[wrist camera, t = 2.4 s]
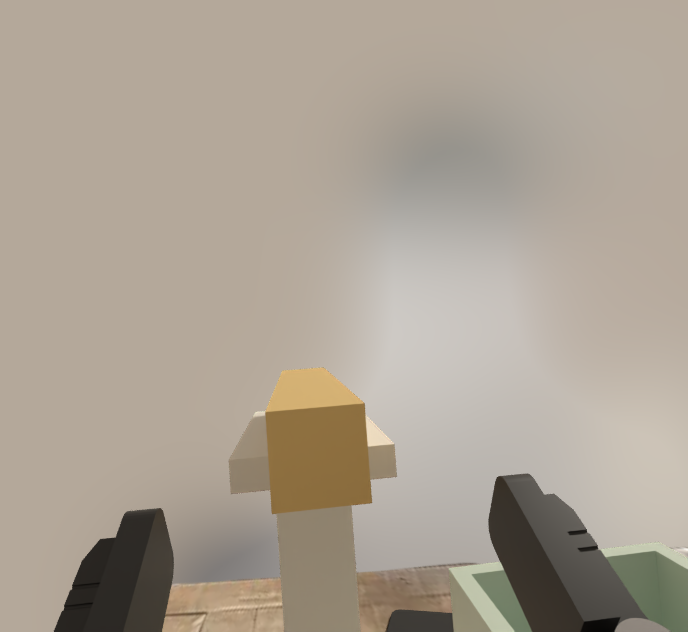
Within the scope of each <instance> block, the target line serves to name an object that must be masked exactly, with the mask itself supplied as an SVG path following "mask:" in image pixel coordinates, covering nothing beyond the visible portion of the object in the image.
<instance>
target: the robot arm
mask: <svg viewBox="0 0 688 632" xmlns="http://www.w3.org/2000/svg"><path fill="white" fill-rule="evenodd" d="M489 533H490V538H491V541H492V544H493V546H494V549H495V551H496V553H497V555H498V558H499V560H500V562H501V564H502V566H503V569H504V571H505V573H506V575H507V577H508V580H509V582H510V584H511V586H512V588H513V591H514V593H515V595H516V597H517V599H518V602H519V604H520V606H521V608H522V610H523V613H524V615H525V617H526V619H527V621H528V624H529V626H530V628H531V630H532V632H671V631H670V630H668V629H667V628H665V627H664V626H662V625H660V624H658V623H656V622H653V621H650V620H649V619H648V618H647V617H646V616H645V614H644V613H643V612H642V610H641V609H640V607H639V606H638V604H637V603H636V602H635V600H634V599H633V597H632V596H631V594H630V593H629V591H628V590H627V588H626V587H625V585H624V584H623V582H622V581H621V579H620V578H619V576H618V575H617V573H616V572H615V570H614V569H613V568H612V566H611V565H610V563H609V562H608V560H607V559H606V557H605V556H604V554H603V553H602V551H601V550H599V549H598V545H597V544H596V543H595V541H594V540H593V538H592V536H591V535H590V534H589V533H587V529H586V528H585V526H584V525H583V523H582V522H581V520H580V519H579V517H578V516H577V514H576V513H575V511H574V510H573V509H572V508H571V507H569V506H568V505H567V504H566V503H565V502H563V501H562V500H561V499H560V498H559V497H557V496H556V495H555V494H547V495H544V494H543V492H542V491H541V489H540V488H539V486H538V484H537V483H536V481H535V480H534V478H533V477H532V476H531V475H530V474H518V475H508V476H499V477H497V479H496V481H495V486H494V492H493V497H492V503H491V509H490V514H489ZM173 569H174V558H173V551H172V546H171V543H170V538H169V534H168V530H167V525H166V522H165V517H164V513H163V510H162V509H161V508H157V509H147V510H137V511H128V512H126V513H125V514H124V516H123V518H122V521H121V524H120V527H119V530H118V532H117V536H116V538H107V539H100V540H99V541H98V543H97V544H96V545H95V546H94V547H93V548H92V550H91V551H90V552H89V553H88V554H87V556H86V557H85V558H84V559H83V560H82V562H81V565H80V568H79V570H78V572H77V575H76V577H75V580H74V582H73V585H72V590H70V592H69V595H68V597H67V600H66V602H65V605H64V611H62V612H61V615H60V617H59V620H58V622H57V625H56V628H55V630H54V632H162V628H163V623H164V618H165V614H166V609H167V604H168V599H169V594H170V589H171V585H172V579H173Z"/></svg>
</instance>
